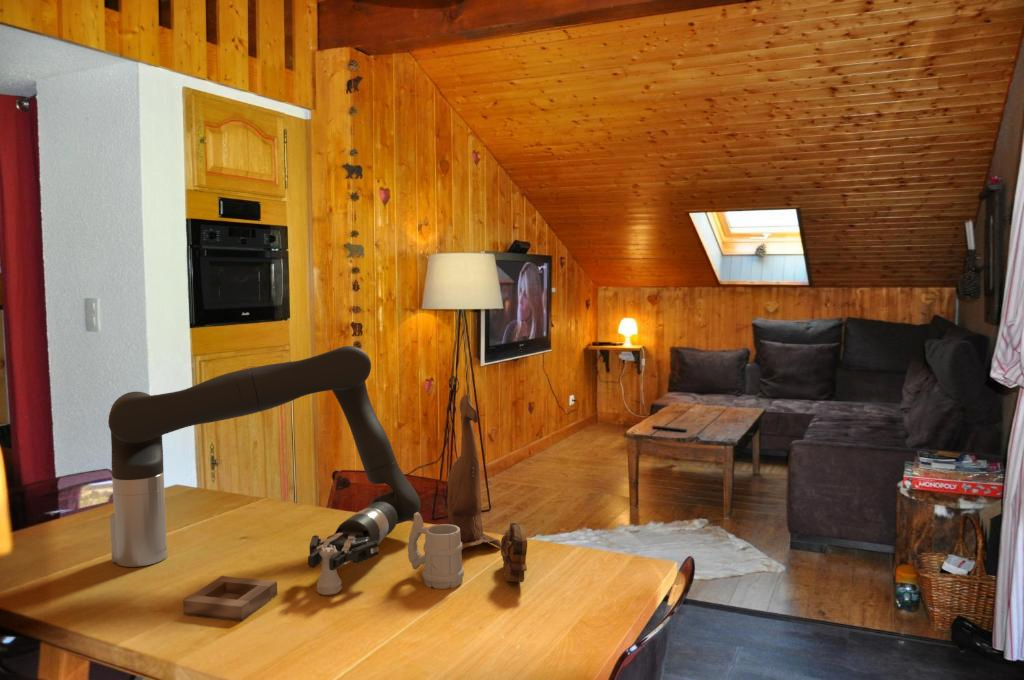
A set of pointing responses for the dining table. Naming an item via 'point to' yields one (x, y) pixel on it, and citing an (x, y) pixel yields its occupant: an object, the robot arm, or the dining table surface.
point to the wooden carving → (514, 552)
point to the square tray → (230, 598)
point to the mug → (437, 553)
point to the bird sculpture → (467, 484)
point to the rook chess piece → (328, 573)
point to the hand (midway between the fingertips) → (321, 563)
